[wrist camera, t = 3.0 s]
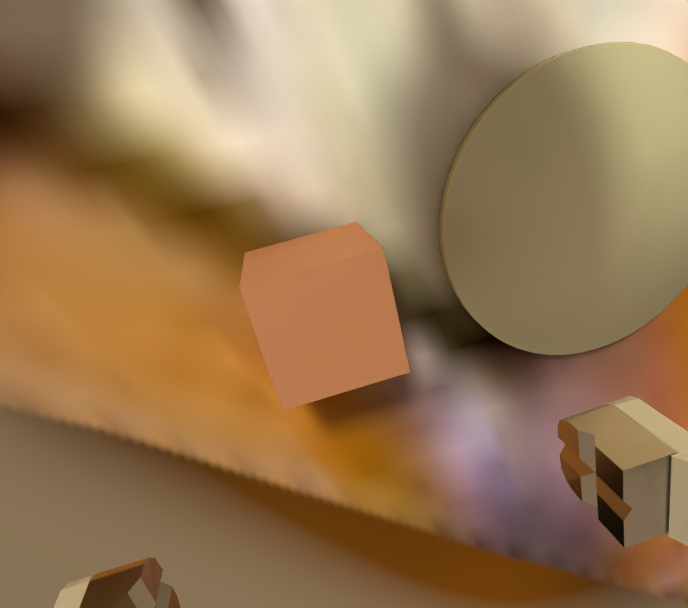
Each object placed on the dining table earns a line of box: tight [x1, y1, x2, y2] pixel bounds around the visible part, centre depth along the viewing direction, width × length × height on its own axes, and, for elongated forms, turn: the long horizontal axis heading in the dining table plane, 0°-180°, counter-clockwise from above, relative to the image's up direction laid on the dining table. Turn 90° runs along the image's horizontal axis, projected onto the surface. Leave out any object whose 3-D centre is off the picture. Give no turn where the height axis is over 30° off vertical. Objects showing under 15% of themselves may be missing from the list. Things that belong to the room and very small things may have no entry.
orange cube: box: [239, 222, 410, 411], centre depth 19 cm, size 5×5×5 cm
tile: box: [439, 42, 688, 355], centre depth 21 cm, size 14×14×1 cm
